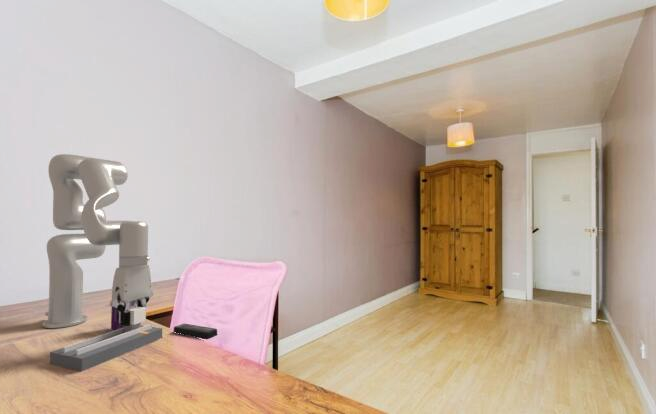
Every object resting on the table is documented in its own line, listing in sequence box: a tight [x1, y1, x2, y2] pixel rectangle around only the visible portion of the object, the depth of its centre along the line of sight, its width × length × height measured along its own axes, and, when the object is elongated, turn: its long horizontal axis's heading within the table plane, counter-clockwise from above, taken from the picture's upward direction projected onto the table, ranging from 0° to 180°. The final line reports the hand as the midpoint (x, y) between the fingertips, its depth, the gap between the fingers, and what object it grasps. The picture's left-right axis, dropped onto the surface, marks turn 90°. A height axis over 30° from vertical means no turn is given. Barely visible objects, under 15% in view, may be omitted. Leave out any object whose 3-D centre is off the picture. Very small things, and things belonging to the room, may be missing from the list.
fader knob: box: [119, 305, 147, 333], centre depth 101 cm, size 6×4×7 cm, turn 70°
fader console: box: [49, 323, 163, 372], centre depth 95 cm, size 12×24×4 cm, turn 160°
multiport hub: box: [173, 323, 218, 340], centre depth 108 cm, size 4×14×2 cm, turn 67°
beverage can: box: [110, 300, 137, 331], centre depth 112 cm, size 7×7×12 cm
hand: (132, 322), depth 101 cm, fingers closed on fader knob, 4 cm apart
